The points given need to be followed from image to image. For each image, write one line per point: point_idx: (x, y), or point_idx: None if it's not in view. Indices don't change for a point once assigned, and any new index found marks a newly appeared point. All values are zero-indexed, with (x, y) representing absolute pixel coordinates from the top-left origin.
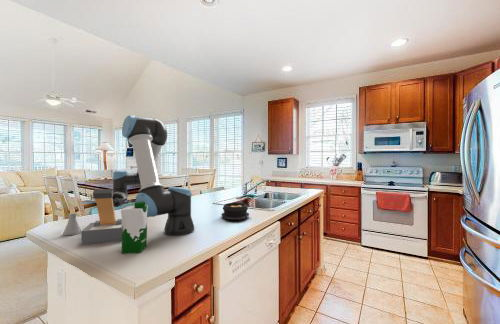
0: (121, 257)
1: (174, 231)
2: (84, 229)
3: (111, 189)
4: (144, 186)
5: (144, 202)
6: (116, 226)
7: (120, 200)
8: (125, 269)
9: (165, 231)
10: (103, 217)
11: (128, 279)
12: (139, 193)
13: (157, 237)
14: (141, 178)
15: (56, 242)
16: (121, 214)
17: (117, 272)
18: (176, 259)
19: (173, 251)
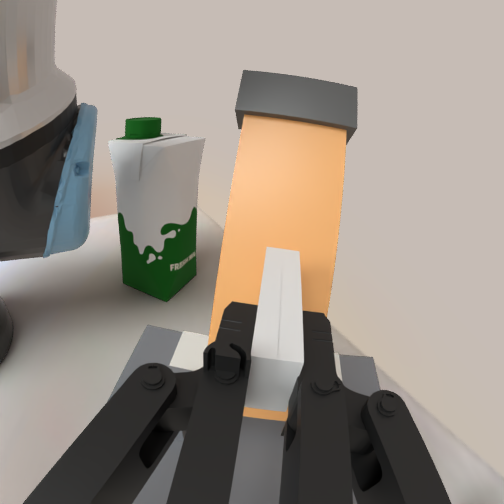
0: (200, 260)
1: (3, 301)
2: (372, 380)
3: (250, 73)
4: (62, 71)
5: (133, 118)
6: (200, 355)
7: (80, 482)
8: (200, 226)
9: (6, 338)
10: None
11: (200, 210)
12: (91, 107)
13: (51, 331)
14: (55, 16)
15: (461, 451)
16: (201, 158)
17: (213, 225)
18: (111, 220)
19: (91, 241)
